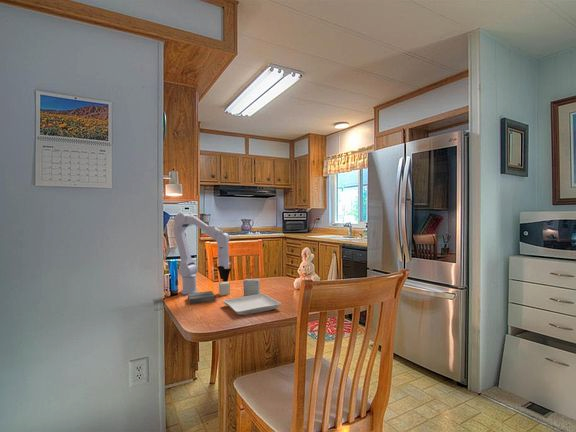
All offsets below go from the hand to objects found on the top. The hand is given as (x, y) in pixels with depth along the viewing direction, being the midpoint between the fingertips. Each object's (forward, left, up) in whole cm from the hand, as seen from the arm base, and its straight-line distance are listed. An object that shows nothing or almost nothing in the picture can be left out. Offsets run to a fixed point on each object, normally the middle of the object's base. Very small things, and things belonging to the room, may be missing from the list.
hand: (224, 280), depth 174 cm
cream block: (0, 0, -7) cm, 7 cm away
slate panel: (+7, -13, -8) cm, 17 cm away
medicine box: (+12, +12, -8) cm, 18 cm away
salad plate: (+32, +6, -8) cm, 33 cm away
